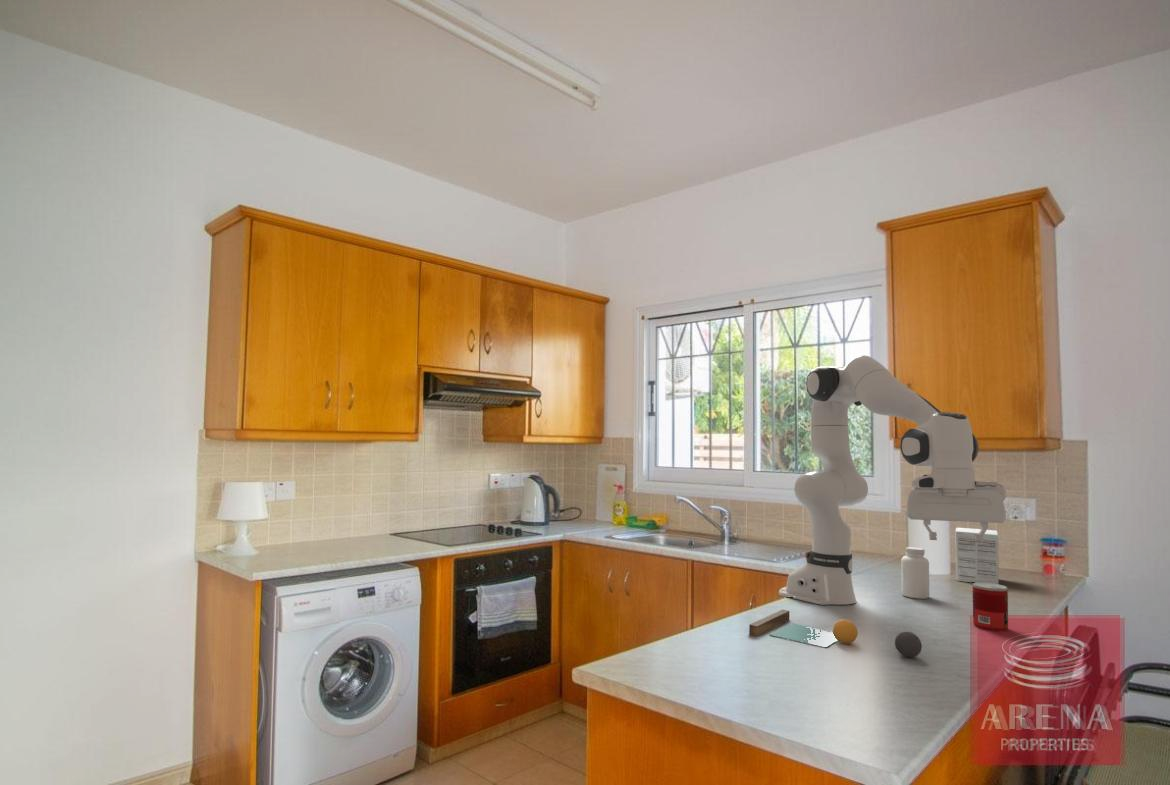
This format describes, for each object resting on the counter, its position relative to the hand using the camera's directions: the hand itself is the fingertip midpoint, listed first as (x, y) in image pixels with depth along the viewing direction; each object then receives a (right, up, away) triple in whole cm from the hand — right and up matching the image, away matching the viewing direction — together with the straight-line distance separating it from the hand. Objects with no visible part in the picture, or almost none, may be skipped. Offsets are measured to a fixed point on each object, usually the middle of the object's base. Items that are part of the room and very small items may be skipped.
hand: (955, 541), depth 155 cm
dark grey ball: (-13, -23, -4) cm, 26 cm away
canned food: (+21, -28, +22) cm, 42 cm away
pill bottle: (+18, -30, +56) cm, 66 cm away
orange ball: (-24, -23, +5) cm, 33 cm away
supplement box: (+54, -33, +83) cm, 104 cm away
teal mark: (-31, -26, +11) cm, 42 cm away
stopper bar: (-38, -26, +17) cm, 49 cm away
